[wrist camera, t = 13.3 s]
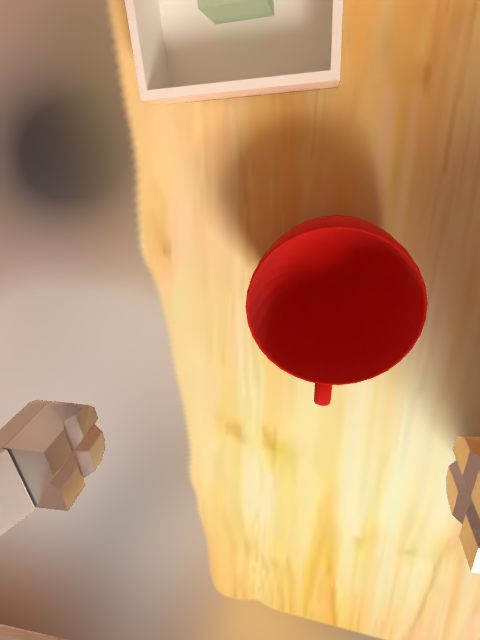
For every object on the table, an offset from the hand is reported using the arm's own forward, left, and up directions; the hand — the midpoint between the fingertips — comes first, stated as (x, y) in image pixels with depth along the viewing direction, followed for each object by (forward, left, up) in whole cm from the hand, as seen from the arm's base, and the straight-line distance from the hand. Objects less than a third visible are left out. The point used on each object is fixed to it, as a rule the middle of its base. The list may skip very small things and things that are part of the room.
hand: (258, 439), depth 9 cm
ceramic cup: (-2, +8, -29) cm, 30 cm away
